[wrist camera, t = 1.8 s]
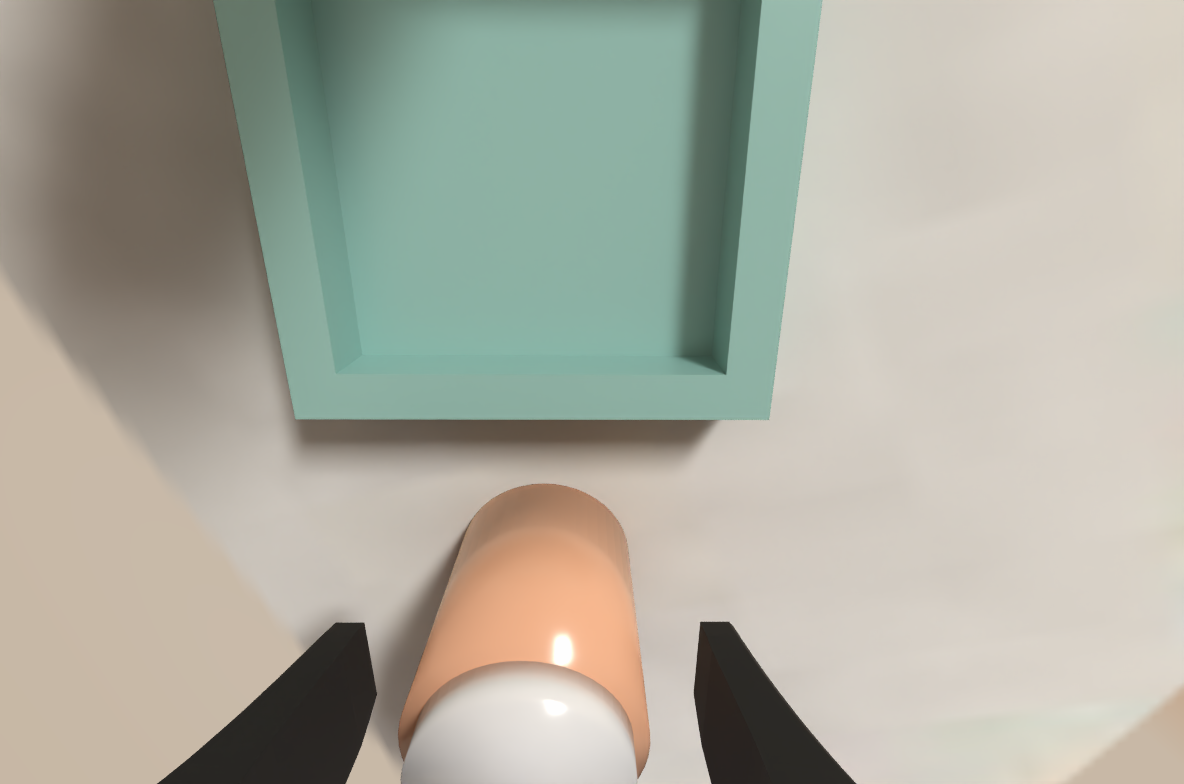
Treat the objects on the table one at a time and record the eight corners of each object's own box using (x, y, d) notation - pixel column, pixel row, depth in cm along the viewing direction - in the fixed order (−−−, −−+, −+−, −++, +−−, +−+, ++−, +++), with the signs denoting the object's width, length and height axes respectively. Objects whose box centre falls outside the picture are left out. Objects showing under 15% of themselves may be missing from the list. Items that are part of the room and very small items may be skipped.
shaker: (625, 622, 16) (649, 874, 10) (468, 622, 16) (399, 876, 10) (631, 483, 14) (662, 687, 8) (456, 483, 14) (365, 688, 8)
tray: (743, 387, 13) (768, 419, 12) (336, 387, 13) (295, 419, 11) (798, -125, 10) (847, -198, 8) (251, -132, 10) (172, -207, 8)
